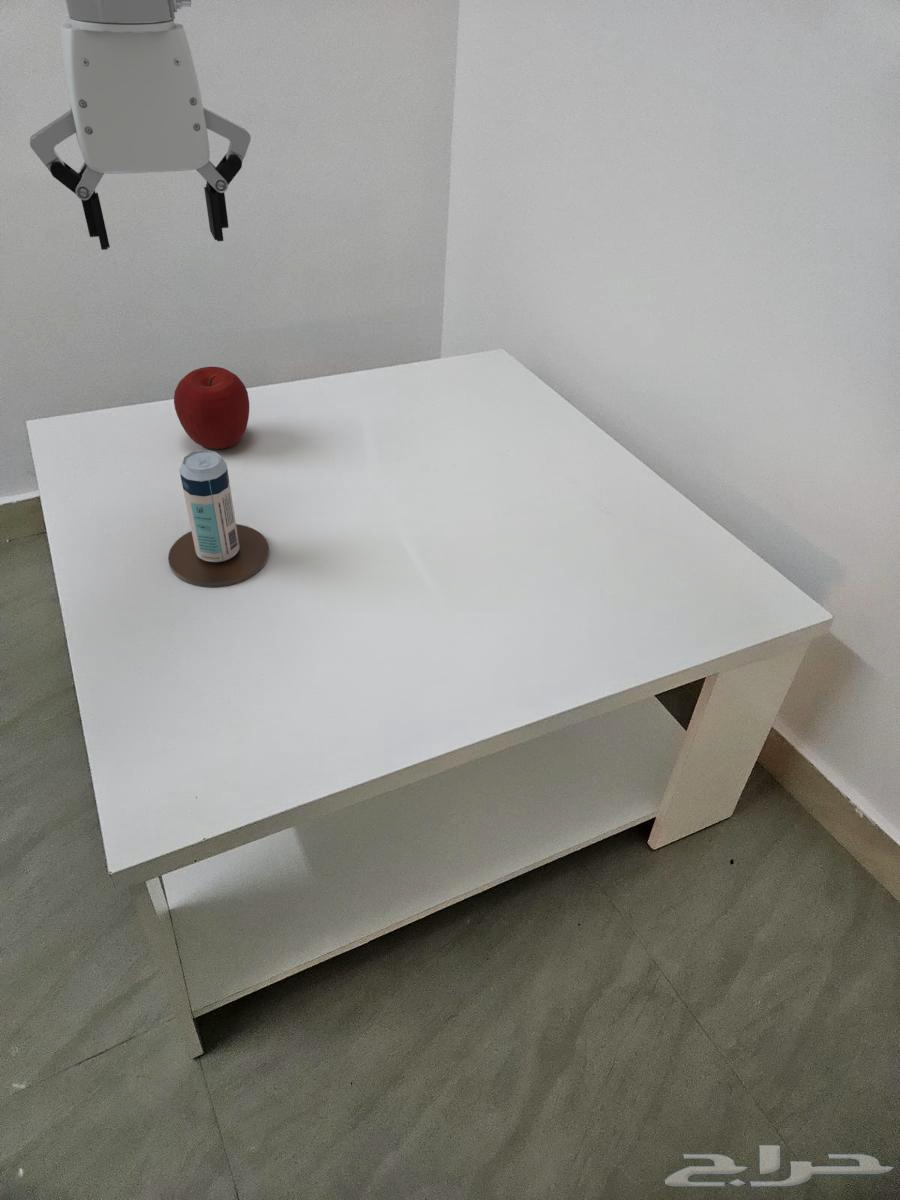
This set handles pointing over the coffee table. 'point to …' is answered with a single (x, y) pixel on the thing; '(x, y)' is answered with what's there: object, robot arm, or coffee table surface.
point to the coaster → (224, 572)
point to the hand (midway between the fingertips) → (162, 240)
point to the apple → (212, 407)
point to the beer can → (209, 505)
